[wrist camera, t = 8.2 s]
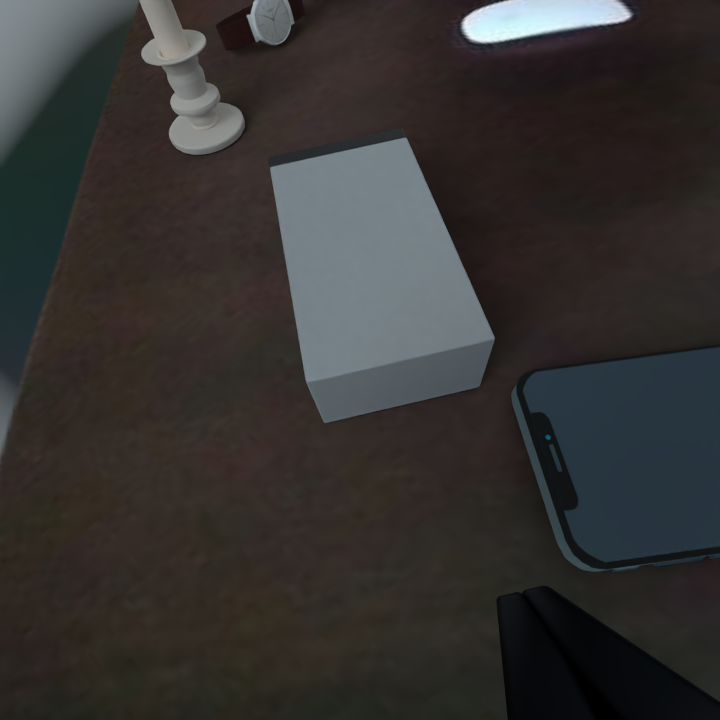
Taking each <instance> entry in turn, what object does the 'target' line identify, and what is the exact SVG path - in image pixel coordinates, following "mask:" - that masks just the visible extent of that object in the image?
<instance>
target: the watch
mask: <svg viewBox="0 0 720 720" xmlns="http://www.w3.org/2000/svg"><path fill="white" fill-rule="evenodd" d="M304 14H305V13H304V9H303V3H302V0H255V1H254V3H253V4H252V5H251V6H249V7H247V8H245V9H243V10H241V11H239V12H237V13H235V14H233V15H231V16H229V17H228V18H226V19H224V20H222V21H221V22H219V23H218V24H217V25H216V28H217V31H218V33H219V35H220V37H221V39H222V42H223V44H224V46H225V48H226V50H233V49H237V48H240V47H243V46H245V45H248V44H250V43H252V42H254V41H256V42H258V41H259V40H261V41H262V42H264V43H266V44H268V45H278V44H280V43H282V42H283V41H284V40H286V38H287V36H288V35H289V32H290V29H291V24H294V21H296V20H298V19H299V18H301V17H302V16H303V15H304Z"/></svg>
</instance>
